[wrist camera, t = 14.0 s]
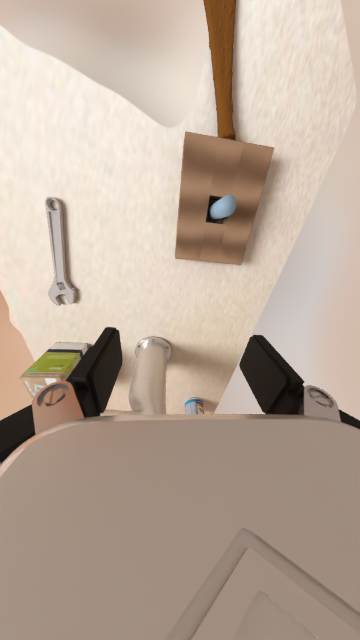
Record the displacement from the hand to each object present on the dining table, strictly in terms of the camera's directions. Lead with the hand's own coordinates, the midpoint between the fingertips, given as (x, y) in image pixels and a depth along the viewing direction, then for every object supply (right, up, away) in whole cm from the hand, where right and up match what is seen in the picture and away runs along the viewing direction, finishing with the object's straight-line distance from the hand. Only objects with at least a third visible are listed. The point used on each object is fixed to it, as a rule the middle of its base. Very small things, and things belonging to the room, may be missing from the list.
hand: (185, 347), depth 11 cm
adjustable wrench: (-30, +17, +28) cm, 44 cm away
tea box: (-37, -12, +43) cm, 58 cm away
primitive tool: (+6, +44, +14) cm, 47 cm away
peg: (+7, +27, +24) cm, 36 cm away
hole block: (+7, +27, +24) cm, 36 cm away
